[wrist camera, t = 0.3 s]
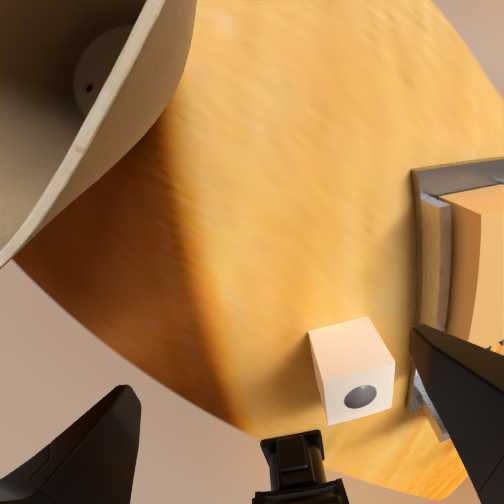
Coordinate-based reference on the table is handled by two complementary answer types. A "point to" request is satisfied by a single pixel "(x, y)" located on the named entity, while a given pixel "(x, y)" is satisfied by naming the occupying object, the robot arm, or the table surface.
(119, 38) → the plant pot
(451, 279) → the block
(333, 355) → the block
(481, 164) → the press frame
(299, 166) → the table surface
